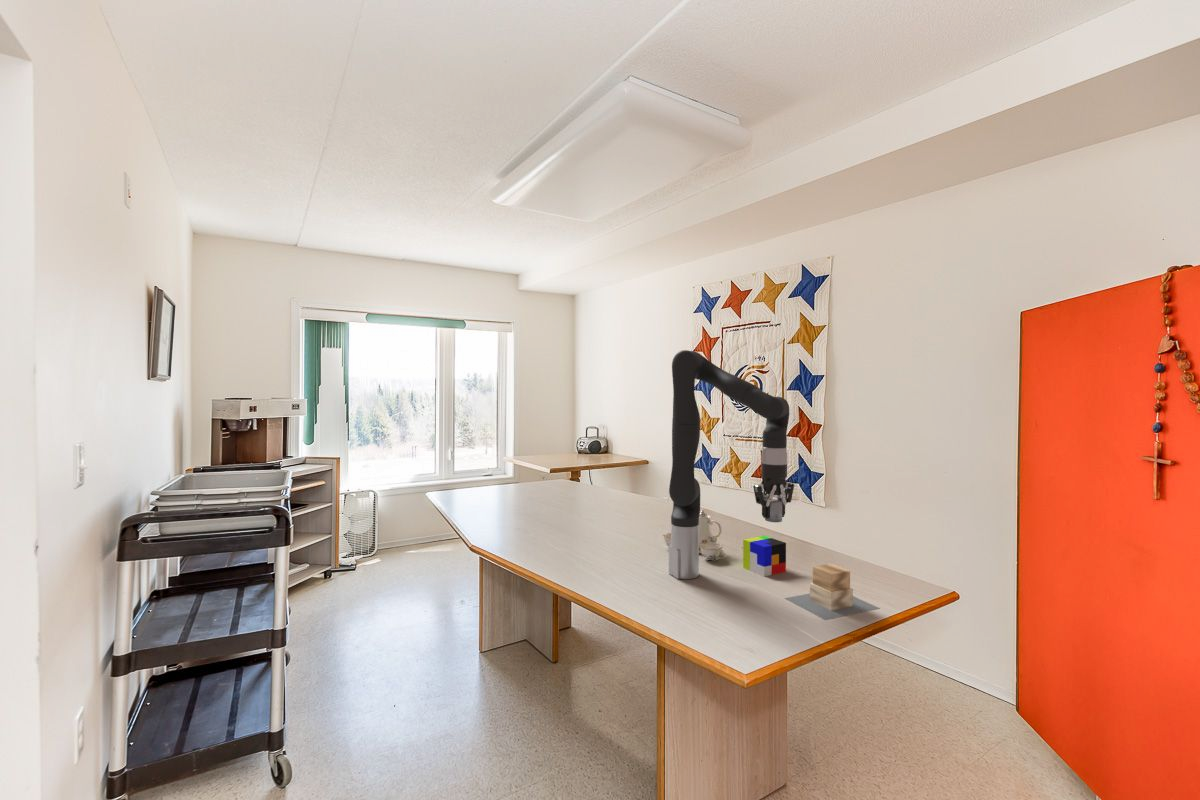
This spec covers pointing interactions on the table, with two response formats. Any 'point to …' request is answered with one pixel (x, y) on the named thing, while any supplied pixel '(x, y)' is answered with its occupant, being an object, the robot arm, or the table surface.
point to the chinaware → (705, 538)
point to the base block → (831, 597)
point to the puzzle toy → (764, 555)
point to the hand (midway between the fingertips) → (773, 517)
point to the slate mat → (828, 614)
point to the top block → (831, 577)
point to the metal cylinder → (775, 511)
